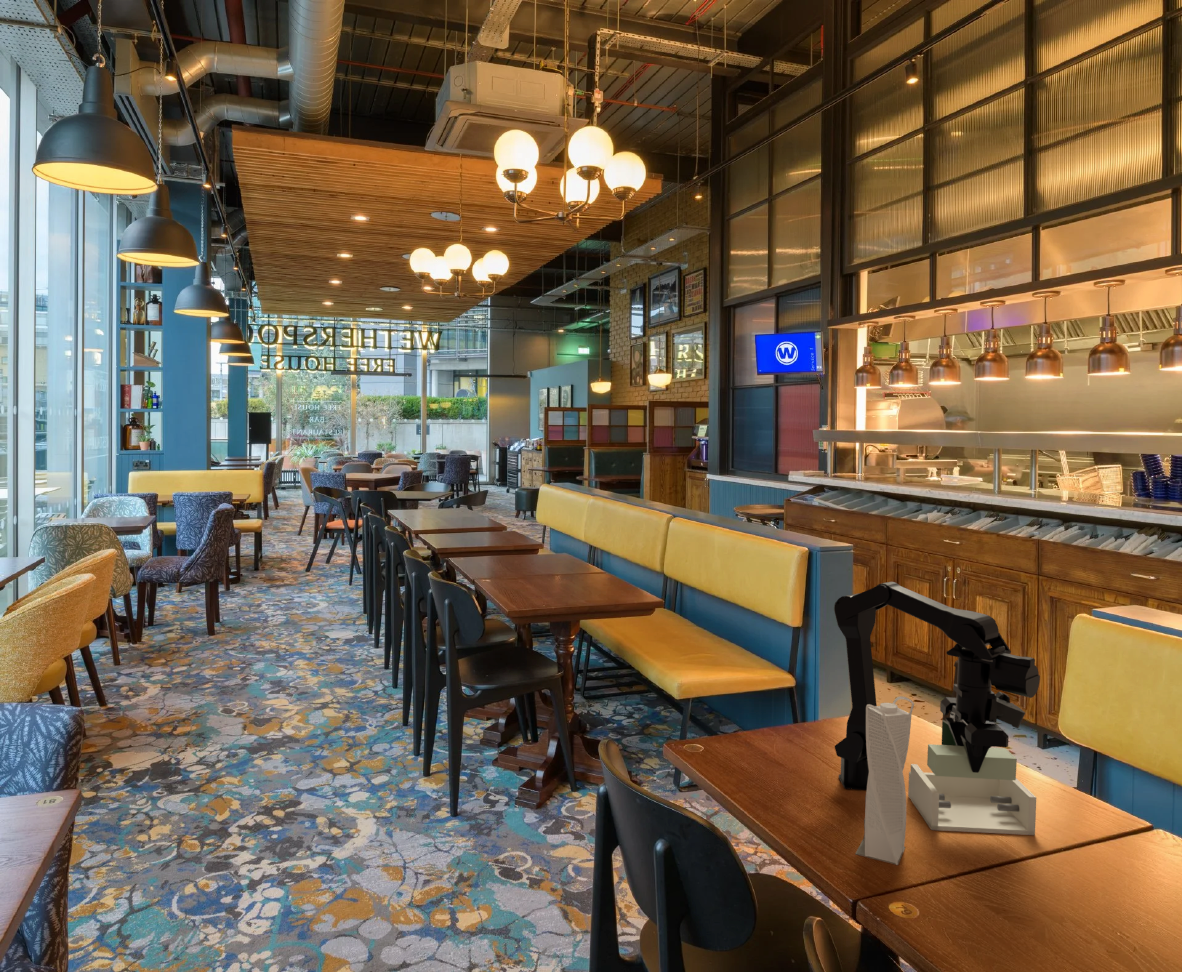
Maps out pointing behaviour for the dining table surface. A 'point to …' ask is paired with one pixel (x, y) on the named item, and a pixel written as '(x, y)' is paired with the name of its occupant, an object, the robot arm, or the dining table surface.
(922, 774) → the tray
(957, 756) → the shelf board
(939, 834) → the dining table surface
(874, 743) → the skyscraper
